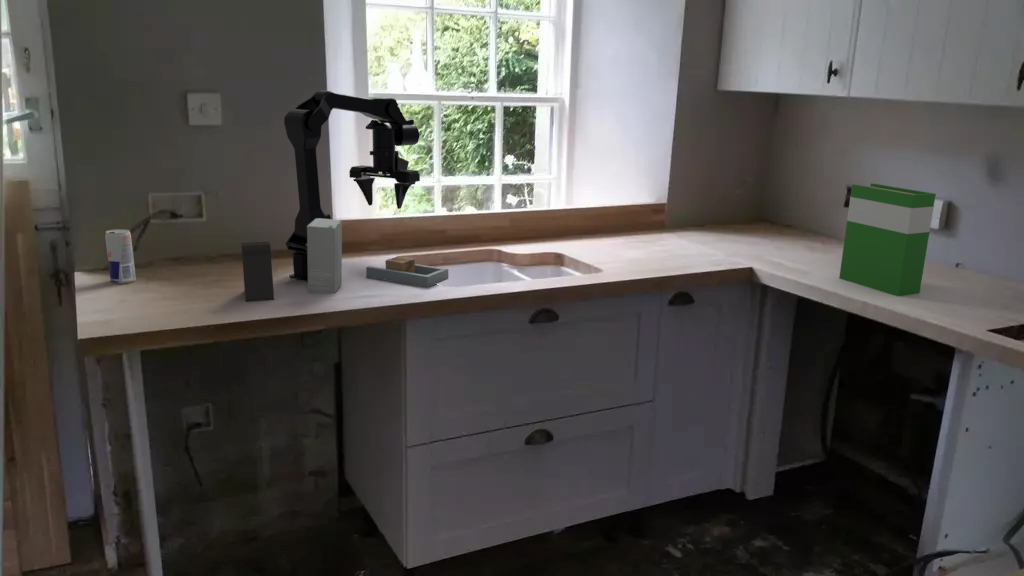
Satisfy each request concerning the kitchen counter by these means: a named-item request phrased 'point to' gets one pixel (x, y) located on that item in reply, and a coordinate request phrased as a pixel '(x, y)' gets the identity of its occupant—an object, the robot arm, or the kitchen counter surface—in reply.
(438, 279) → the slate channel
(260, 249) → the dark grey upright block
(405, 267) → the walnut block
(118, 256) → the energy drink
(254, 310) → the kitchen counter surface
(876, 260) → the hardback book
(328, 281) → the skincare box
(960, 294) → the kitchen counter surface
